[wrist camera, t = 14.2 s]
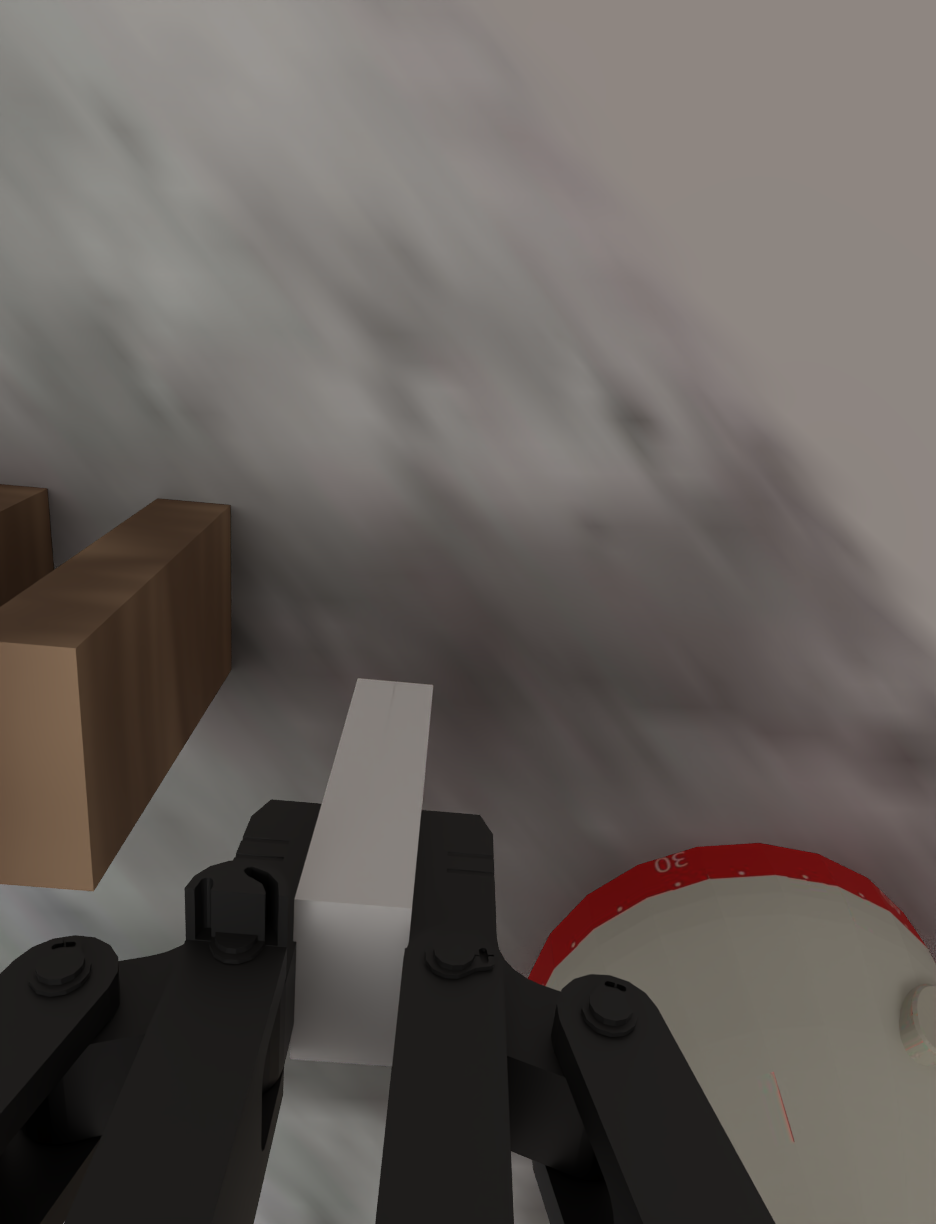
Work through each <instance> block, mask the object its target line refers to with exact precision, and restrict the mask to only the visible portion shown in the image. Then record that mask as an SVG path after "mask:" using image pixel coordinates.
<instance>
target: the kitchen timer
mask: <svg viewBox="0 0 936 1224" xmlns="http://www.w3.org/2000/svg"><path fill="white" fill-rule="evenodd" d="M589 974H599V975H611V976H614V977H617V978H620V979H623V980H626V981H629V982H630V983H632V984H633V985H635V986H636V987H638V988H639V989H641V990H642V991H644V992H645V993H646V994H647V995H648V996H649V998H650V999H651V1000H652V1001H653V1003H654V1004H655V1005H656V1006H657V1008H658V1009H659V1011H660V1013H661V1015H662V1017H663V1019H664V1020H665V1022H666V1024H667V1026H668V1028H669V1030H670V1031H671V1033H672V1035H673V1037H674V1039H675V1041H676V1042H677V1044H678V1046H679V1048H680V1050H681V1051H682V1053H683V1055H684V1057H685V1059H686V1061H687V1062H688V1064H689V1066H690V1068H691V1070H692V1072H693V1073H694V1075H695V1077H696V1079H697V1081H698V1083H699V1084H700V1086H701V1088H702V1090H703V1092H704V1094H705V1095H706V1097H707V1099H708V1101H709V1103H710V1104H711V1106H712V1108H713V1110H714V1112H715V1114H716V1115H717V1117H718V1119H719V1121H720V1123H721V1125H722V1126H723V1128H724V1130H725V1132H726V1134H727V1136H728V1137H729V1139H730V1141H731V1143H732V1145H733V1147H734V1148H735V1150H736V1152H737V1154H738V1156H739V1158H740V1159H741V1161H742V1163H743V1165H744V1167H745V1168H746V1170H747V1172H748V1174H749V1176H750V1178H751V1179H752V1181H753V1183H754V1185H755V1187H756V1189H757V1190H758V1192H759V1194H760V1196H761V1198H762V1200H763V1201H764V1203H765V1205H766V1207H767V1209H768V1211H769V1212H770V1214H771V1216H772V1218H773V1220H774V1222H775V1223H776V1224H936V964H935V962H934V960H933V958H932V956H931V954H930V952H929V950H928V948H927V947H926V945H925V944H924V942H923V941H922V939H921V938H920V936H919V935H918V933H917V932H916V931H915V929H914V928H913V926H912V925H911V923H910V922H909V920H908V919H907V917H906V916H905V914H904V913H903V912H902V911H901V910H900V909H899V908H898V907H897V906H896V905H895V904H894V903H893V902H892V901H891V900H890V899H889V898H888V897H887V896H886V895H885V894H884V893H883V892H881V891H880V890H879V889H878V888H877V887H876V886H875V885H874V884H873V883H872V882H871V881H870V880H869V879H868V878H867V877H864V876H862V875H860V874H858V873H856V872H854V871H852V870H850V869H848V868H846V867H844V866H842V865H840V864H838V863H836V862H834V861H832V860H830V859H828V858H826V857H824V856H821V855H819V854H816V853H811V852H805V851H800V850H794V849H789V848H784V847H778V846H773V845H767V844H762V843H752V844H736V845H720V846H704V847H695V848H692V849H689V850H685V851H682V852H679V853H675V854H672V855H669V856H666V857H662V858H659V859H656V860H653V861H649V862H646V863H643V864H639V865H637V866H635V867H634V868H632V869H630V870H629V871H627V872H625V873H624V874H622V875H620V876H619V877H617V878H615V879H613V880H612V881H610V882H608V883H607V884H605V885H603V886H602V887H600V888H598V889H597V890H595V891H593V892H592V893H590V894H588V895H587V896H586V897H585V898H584V899H583V900H582V901H581V902H580V903H579V904H578V905H577V906H576V907H575V908H574V909H573V910H572V912H571V913H570V914H569V915H568V916H567V917H566V918H565V919H564V920H563V921H562V922H561V923H560V924H559V925H558V926H557V927H556V928H555V929H554V930H553V931H552V932H551V933H550V935H549V937H548V939H547V941H546V943H545V945H544V947H543V949H542V951H541V953H540V955H539V957H538V959H537V961H536V963H535V965H534V967H533V969H532V971H531V973H530V975H529V977H528V979H529V980H532V981H534V982H536V983H538V984H541V985H543V986H546V987H549V988H552V989H555V990H558V991H561V990H562V988H564V987H565V986H566V985H567V984H568V983H569V982H571V981H572V980H573V979H575V978H579V977H582V976H586V975H589Z"/></svg>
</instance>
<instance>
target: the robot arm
mask: <svg viewBox="0 0 936 1224" xmlns="http://www.w3.org/2000/svg"><path fill="white" fill-rule="evenodd" d="M432 693H433V685H428V684H416V683H405V682H394V681H383V680H371V679H360V678H358V679H357V683H356V686H355V690H354V693H353V697H352V700H351V704H350V707H349V711H348V714H347V718H346V721H345V725H344V728H343V732H342V735H341V739H340V742H339V746H338V749H337V753H336V756H335V760H334V763H333V767H332V770H331V774H330V777H329V780H328V784H327V787H326V791H325V794H324V798H323V801H322V804H318V803H306V802H294V801H282V800H270V801H269V802H268V803H267V804H265V805H264V806H263V807H262V808H261V809H259V810H258V811H257V812H256V813H255V814H254V815H252V816H251V819H250V821H249V823H248V826H247V828H246V831H245V833H244V836H243V841H241V843H240V845H239V848H238V850H237V853H236V858H234V860H233V861H227V862H223V863H220V864H217V865H213V866H210V867H208V868H207V869H205V870H203V871H202V872H200V873H198V874H197V875H195V876H194V877H193V878H192V880H191V881H190V882H189V883H188V885H187V886H186V887H185V920H186V941H185V943H184V944H183V945H182V946H179V947H177V948H175V949H172V950H170V951H168V952H165V953H161V954H157V955H152V956H148V957H142V958H136V959H129V960H123V961H118V956H117V955H116V953H115V952H114V950H113V949H112V947H111V946H110V945H109V944H107V943H105V942H103V941H101V940H99V939H97V938H95V937H85V936H76V935H75V936H68V937H62V938H55V939H52V940H49V941H47V942H44V943H42V944H39V945H37V946H34V947H32V948H31V949H29V950H28V951H26V952H25V953H24V954H22V955H21V956H19V957H18V958H17V959H15V960H14V961H13V962H12V963H11V964H10V965H9V966H8V967H7V968H6V969H5V970H4V971H3V972H2V973H1V974H0V1224H63V1223H64V1222H65V1223H64V1224H253V1223H254V1219H255V1215H256V1210H257V1206H258V1202H259V1197H260V1193H261V1188H262V1184H263V1180H264V1175H265V1171H266V1167H267V1162H268V1158H269V1154H270V1149H271V1145H272V1140H273V1136H274V1132H275V1127H276V1123H277V1119H278V1114H279V1110H280V1105H281V1101H282V1097H283V1076H284V1064H285V1059H286V1055H287V1051H288V1047H289V1043H290V1059H295V1060H308V1061H321V1062H335V1063H348V1064H361V1065H374V1066H388V1067H392V1071H391V1081H390V1090H389V1100H388V1109H387V1119H386V1128H385V1138H384V1147H383V1157H382V1166H381V1176H380V1185H379V1195H378V1204H377V1214H376V1223H375V1224H514V1216H513V1192H512V1168H511V1151H512V1152H515V1153H517V1154H520V1155H522V1156H524V1157H527V1158H529V1159H532V1163H533V1170H534V1173H535V1177H536V1180H537V1183H538V1186H539V1189H540V1193H541V1196H542V1199H543V1202H544V1205H545V1209H546V1212H547V1215H548V1218H549V1221H550V1224H776V1223H775V1222H774V1220H773V1218H772V1216H771V1214H770V1212H769V1211H768V1209H767V1207H766V1205H765V1203H764V1201H763V1200H762V1198H761V1196H760V1194H759V1192H758V1190H757V1189H756V1187H755V1185H754V1183H753V1181H752V1179H751V1178H750V1176H749V1174H748V1172H747V1170H746V1168H745V1167H744V1165H743V1163H742V1161H741V1159H740V1158H739V1156H738V1154H737V1152H736V1150H735V1148H734V1147H733V1145H732V1143H731V1141H730V1139H729V1137H728V1136H727V1134H726V1132H725V1130H724V1128H723V1126H722V1125H721V1123H720V1121H719V1119H718V1117H717V1115H716V1114H715V1112H714V1110H713V1108H712V1106H711V1104H710V1103H709V1101H708V1099H707V1097H706V1095H705V1094H704V1092H703V1090H702V1088H701V1086H700V1084H699V1083H698V1081H697V1079H696V1077H695V1075H694V1073H693V1072H692V1070H691V1068H690V1066H689V1064H688V1062H687V1061H686V1059H685V1057H684V1055H683V1053H682V1051H681V1050H680V1048H679V1046H678V1044H677V1042H676V1041H675V1039H674V1037H673V1035H672V1033H671V1031H670V1030H669V1028H668V1026H667V1024H666V1022H665V1020H664V1019H663V1017H662V1015H661V1013H660V1011H659V1009H658V1008H657V1006H656V1005H655V1004H654V1003H653V1001H652V1000H651V999H650V998H649V996H648V995H647V994H646V993H645V992H644V991H642V990H641V989H639V988H638V987H636V986H635V985H633V984H632V983H630V982H629V981H626V980H623V979H620V978H617V977H614V976H611V975H599V974H589V975H586V976H582V977H579V978H575V979H573V980H572V981H571V982H569V983H568V984H567V985H566V986H565V987H564V988H562V990H561V991H558V990H555V989H552V988H549V987H546V986H543V985H541V984H538V983H536V982H534V981H532V980H529V979H527V978H525V977H524V976H522V975H521V974H520V973H518V972H517V971H515V970H514V969H513V968H512V967H511V966H510V965H509V964H508V963H507V962H506V961H505V959H504V958H503V956H502V954H501V952H500V950H499V947H498V942H497V934H496V907H495V880H494V859H493V856H494V853H493V834H492V832H491V831H490V829H489V828H488V826H487V825H486V823H485V822H484V820H483V819H482V817H481V816H480V815H473V814H461V813H449V812H437V811H426V810H422V804H423V793H424V782H425V771H426V760H427V749H428V738H429V727H430V716H431V704H432Z"/></svg>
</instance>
